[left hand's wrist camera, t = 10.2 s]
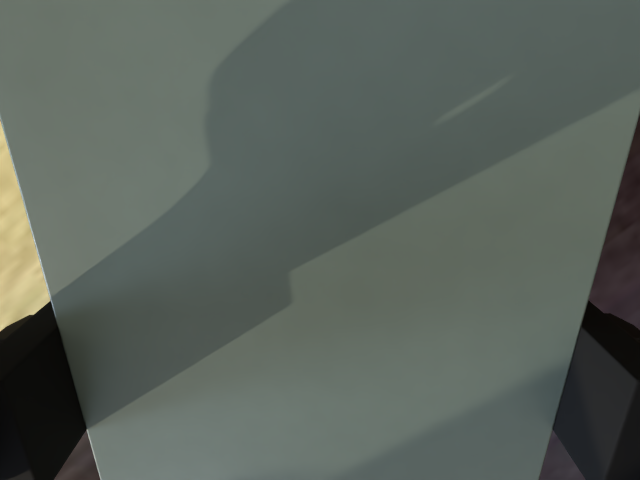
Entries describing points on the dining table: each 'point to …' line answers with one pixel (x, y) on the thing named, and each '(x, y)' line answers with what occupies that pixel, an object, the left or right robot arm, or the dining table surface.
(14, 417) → the left robot arm
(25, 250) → the dining table surface
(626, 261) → the dining table surface
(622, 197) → the dining table surface
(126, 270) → the cabinet
